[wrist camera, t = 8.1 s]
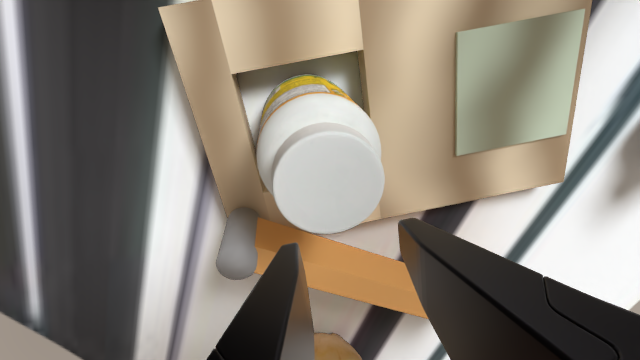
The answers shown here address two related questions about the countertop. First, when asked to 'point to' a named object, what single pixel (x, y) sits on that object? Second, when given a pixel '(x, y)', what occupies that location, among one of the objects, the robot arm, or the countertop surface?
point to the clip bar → (316, 262)
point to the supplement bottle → (319, 155)
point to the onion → (333, 348)
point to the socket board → (398, 88)
